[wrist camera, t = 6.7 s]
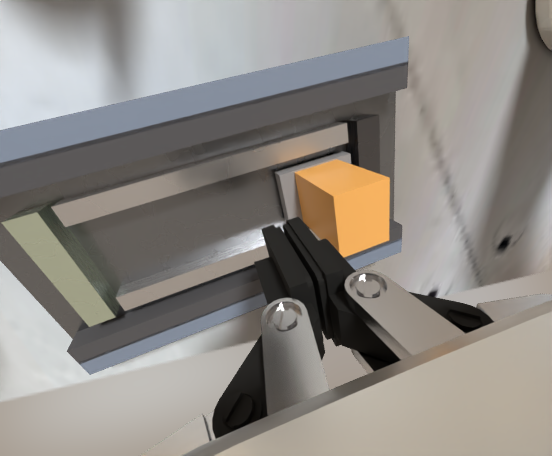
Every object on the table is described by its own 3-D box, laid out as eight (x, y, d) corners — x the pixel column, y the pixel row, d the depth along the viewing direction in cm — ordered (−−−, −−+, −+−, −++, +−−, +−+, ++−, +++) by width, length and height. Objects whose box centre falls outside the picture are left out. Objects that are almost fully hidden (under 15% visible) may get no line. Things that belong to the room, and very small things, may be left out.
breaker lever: (342, 151, 17) (407, 169, 12) (346, 201, 19) (404, 235, 14) (274, 171, 16) (313, 201, 11) (285, 222, 18) (323, 267, 13)
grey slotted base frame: (380, 46, 17) (415, 35, 14) (382, 233, 24) (405, 249, 22) (-68, 150, 13) (-134, 161, 10) (96, 341, 20) (82, 376, 17)
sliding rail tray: (389, 42, 16) (408, 36, 14) (388, 242, 23) (401, 251, 21) (-84, 152, 11) (-122, 158, 10) (97, 355, 19) (89, 374, 17)
